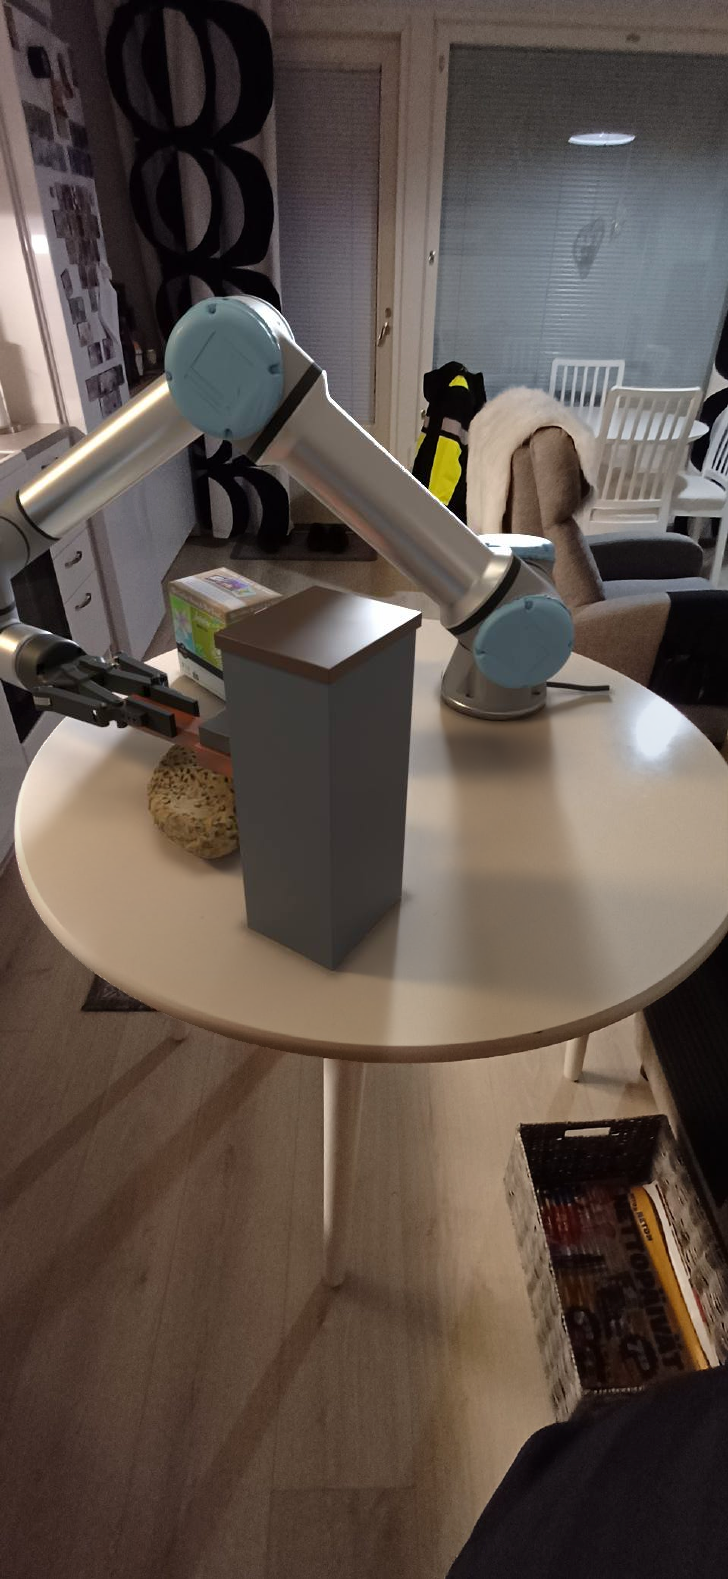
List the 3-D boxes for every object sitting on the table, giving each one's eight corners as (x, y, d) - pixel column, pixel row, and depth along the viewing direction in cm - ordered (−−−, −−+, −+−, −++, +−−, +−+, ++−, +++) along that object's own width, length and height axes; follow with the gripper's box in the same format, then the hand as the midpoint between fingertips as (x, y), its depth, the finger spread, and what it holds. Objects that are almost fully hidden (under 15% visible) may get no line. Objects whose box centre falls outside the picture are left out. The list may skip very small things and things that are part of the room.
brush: (105, 728, 86) (98, 691, 84) (148, 706, 91) (142, 670, 88) (258, 789, 76) (254, 749, 74) (298, 761, 81) (296, 722, 78)
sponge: (173, 775, 98) (107, 846, 80) (181, 718, 95) (115, 777, 77) (274, 801, 98) (231, 878, 79) (285, 744, 95) (244, 810, 76)
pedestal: (242, 927, 74) (212, 633, 57) (320, 857, 83) (314, 584, 66) (333, 974, 70) (329, 669, 53) (405, 895, 78) (422, 612, 61)
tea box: (177, 674, 119) (164, 579, 110) (232, 655, 124) (224, 564, 116) (233, 709, 110) (224, 609, 101) (290, 688, 115) (285, 592, 107)
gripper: (100, 668, 101) (237, 720, 91) (-8, 717, 90) (134, 782, 80) (89, 613, 97) (232, 660, 86) (-26, 657, 86) (122, 718, 75)
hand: (184, 719), depth 83 cm, fingers closed on brush, 3 cm apart
